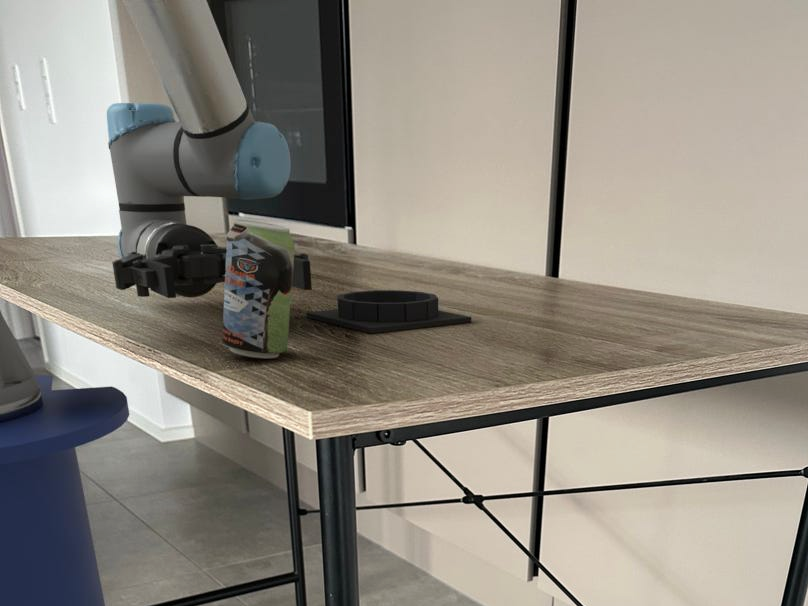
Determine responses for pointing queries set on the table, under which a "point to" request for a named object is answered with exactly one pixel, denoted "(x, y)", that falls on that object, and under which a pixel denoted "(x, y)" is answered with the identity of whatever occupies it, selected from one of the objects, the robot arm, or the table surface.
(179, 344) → the table surface
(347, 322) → the holder pad
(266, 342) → the beverage can
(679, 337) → the table surface
